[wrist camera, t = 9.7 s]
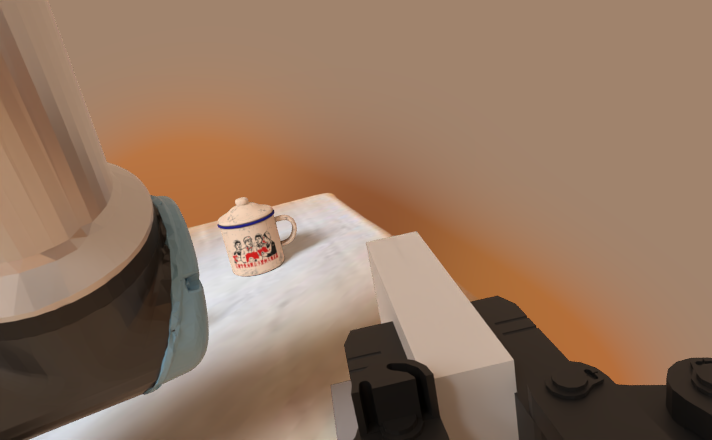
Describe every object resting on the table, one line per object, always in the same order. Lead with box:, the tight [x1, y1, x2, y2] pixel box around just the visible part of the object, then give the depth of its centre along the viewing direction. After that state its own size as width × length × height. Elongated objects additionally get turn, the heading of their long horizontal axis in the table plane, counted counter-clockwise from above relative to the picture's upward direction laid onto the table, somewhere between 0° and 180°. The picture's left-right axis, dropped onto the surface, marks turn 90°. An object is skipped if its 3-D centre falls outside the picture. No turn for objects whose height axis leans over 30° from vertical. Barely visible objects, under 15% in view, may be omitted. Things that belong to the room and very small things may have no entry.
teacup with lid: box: [218, 197, 297, 276], centre depth 80 cm, size 12×9×12 cm
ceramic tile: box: [331, 380, 358, 440], centre depth 38 cm, size 2×10×12 cm
